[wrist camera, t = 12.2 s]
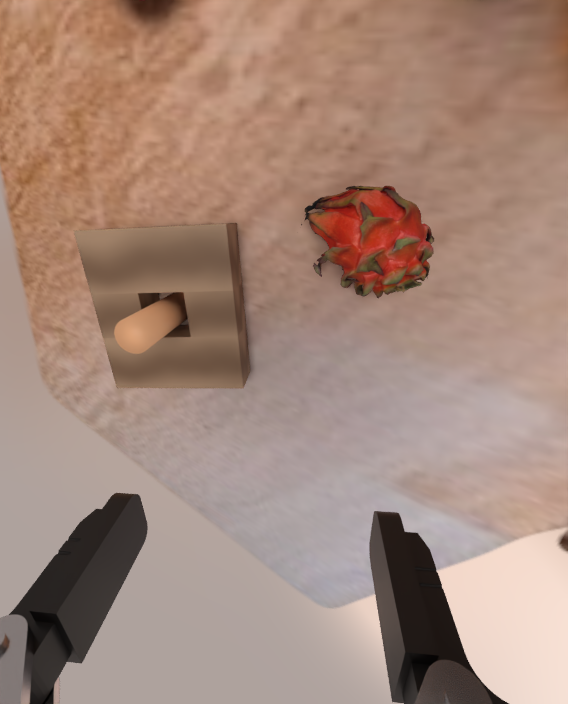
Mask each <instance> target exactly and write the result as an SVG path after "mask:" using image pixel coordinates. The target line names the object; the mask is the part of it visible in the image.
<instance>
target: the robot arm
mask: <svg viewBox="0 0 568 704" xmlns="http://www.w3.org/2000/svg"><path fill="white" fill-rule="evenodd" d="M146 535H147V521H146V517H145V513H144V510H143V506H142V502H141V498H140V496H139V495H138V494H125V493H124V494H123V493H115V494H114V495H112V496H111V498H110V499H109V500H108V502H107V503H106V505H105V506H104V507H103V509H96V510H94V511H93V512H92V513H91V514H90V515H88V516H87V517H86V518H85V519H83V521H81V522H80V523H79V525H78V526H77V527H76V529H75V530H74V531H73V533H72V534H71V535H70V536H69V539H68V541H66V542H65V543H64V544H63V546H62V547H61V548H60V550H59V553H58V554H57V555H55V556H54V558H53V559H52V560H51V562H50V563H49V564H48V566H47V567H46V568H45V569H44V571H43V572H42V573H41V575H40V576H39V577H38V579H37V580H36V581H35V583H34V584H33V585H32V587H31V588H30V589H29V591H28V592H27V593H26V595H25V596H24V597H23V599H22V600H21V601H20V603H19V604H18V605H17V606H16V608H15V609H14V610H13V611H12V612H11V613H10V614H9V615H8V616H5V617H2V618H0V704H59V702H60V679H59V675H60V673H61V671H62V670H63V668H64V666H65V664H66V662H75V663H82V662H83V660H84V658H85V656H86V654H87V652H88V650H89V648H90V646H91V645H92V643H93V641H94V639H95V637H96V635H97V633H98V631H99V629H100V627H101V625H102V623H103V621H104V619H105V618H106V615H107V614H108V612H109V610H110V608H111V606H112V604H113V602H114V600H115V598H116V596H117V594H118V592H119V590H120V589H121V587H122V585H123V583H124V581H125V579H126V577H127V575H128V573H129V571H130V569H131V567H132V565H133V563H134V561H135V560H136V558H137V556H138V554H139V552H140V550H141V548H142V546H143V544H144V542H145V539H146ZM370 563H371V569H372V576H373V582H374V588H375V595H376V601H377V607H378V614H379V620H380V627H381V633H382V639H383V646H384V651H385V658H386V665H387V671H388V677H389V684H390V690H391V697H392V702H398V703H404V704H508V703H507V702H505V701H503V700H501V699H500V698H499V697H497V696H496V695H495V694H494V693H493V692H491V691H490V690H489V689H488V688H487V687H486V686H485V685H484V684H483V683H482V682H481V680H480V679H479V678H478V677H477V675H476V674H475V672H474V671H473V669H472V667H471V666H470V664H469V662H468V660H467V658H466V655H465V653H464V649H463V646H462V644H461V641H460V638H459V635H458V632H457V629H456V626H455V623H454V620H453V617H452V614H451V611H450V608H449V605H448V602H447V599H446V596H445V593H444V590H443V589H442V584H441V581H440V578H439V576H438V573H437V572H436V567H435V564H434V561H433V558H432V555H431V552H430V549H429V548H428V547H427V545H426V544H425V543H424V541H423V540H422V539H421V537H420V536H419V534H418V533H411V532H405V531H404V528H403V524H402V521H401V517H400V515H399V513H395V512H380V511H375V512H374V515H373V522H372V529H371V537H370Z"/></svg>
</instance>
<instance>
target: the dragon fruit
mask: <svg viewBox="0 0 568 704" xmlns="http://www.w3.org/2000/svg"><path fill="white" fill-rule="evenodd" d="M346 189H349V190H348V191H346V192H343V193H341V194H338V195H334V196H326V197H322V198H320V199H318V200H317V201H315V202H314V203H313V205H312V206H308V207H306V208H305V212H306V214H305V215H306V218H305V220H306V219H308V220H309V223H310V226H311V228H312V230H313V231H314V232H315V233H316V234H318V235H320V236H321V237H322V238H323V239H324V240H325V241H326V242H327V244H328V246H329V250H328V251H326V252H325V253H324V254H322V255H321V256H322V257H321V258H319V259H318V260H317V261H318V262H319V264H318V265H316V264H315V263H314V265H313V266H314V269H315V271H316V272H317V273H318V274H319V275H320V276H321V277H322V275H321V264H322V263H324V262H326V261H327V260H329V261H330V262H332V263H334V264H338V265H341V266H342V270H344V275H343V276H342V278H341V286H342V287H344V288H348V287H349V286H350V285H351V284H352V283H353V282H355V284H354V287H355V291H356V294H357V295H361V296H366V295H367V294H369V293H370V292H371V291H372V289H373V292H374V293H375V294H376V296H377V298H379V297H381V296H382V294H383V292H384V293H385V294H387V295H388V294H389V293H393V292H395V291H397V292H398V291H403V292H404V291H406V290H408V289H409V288H413V287H416V286H421V285H422V283H421V282H417V281H416V280H422V281H424V280H425V278H426V276H428V273H429V269H430V265H429V263H428V262H427V261H426V260H427V259H428V258H430V257H431V256H432V254H433V247H432V246H431V244H432V243H433V242H434V238H433V236H432V234H431V229H430V227H429V226H427V225H426V224H422V223H421V213H420V210H419V209H418V207H417V205H416V204H414V203H412V202H410V201H407V200H405V199H403V198H402V197H400V196H399V195H398V193H396V191H395V189H394V187H392V186H384V187H383V188H380V187H363V186H352V187H347V188H346ZM357 189H359V190H357ZM314 208H315V209H322V210H325V211H324V212H322V213H319V212H316V213H312V214H310V213H308V211H310V210H312V209H314ZM301 225H302V224H301ZM300 228H301V227H300ZM297 233H298V232H297ZM426 236H427V238H426ZM425 240H426V241H425ZM347 278H355V279H356V280H351V279H347ZM362 285H364V286H363V287H362Z"/></svg>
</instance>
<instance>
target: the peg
mask: <svg viewBox="0 0 568 704" xmlns="http://www.w3.org/2000/svg"><path fill="white" fill-rule="evenodd" d="M187 318H188V317H187V310H186V304H185V298H184V293H183V292H175V293H173V294H171V295H169V296H167V297H165V298H163V299H161V300H159V301H157V302H155V303H153V304H151V305H149V306H148V307H146V308H144V309H142V310H140V311H138V312H136V313H134V314H132V315H130V316H128V317H126V318H125V319H123V320H121V321H119V322H118V323H117V325H116V326H115V330H114V335H115V339H116V341H117V343H118V344H119V346H120V347H121V348H123V349H124V350H125V351H127V352H129V353H133V354H140V353H143V352H145V351H146V350H148V349H149V348H150V347H151V346H153V345H154V344H155V343H156V342H158V341H159V340H160V339H162V338H163V337H164V336H165V335H167V334H168V333H169V332H171V331H172V330H173V329H174V328H176V327H177V326H178V325H180V324H181V323H182V322H183V321H185V320H186V319H187Z"/></svg>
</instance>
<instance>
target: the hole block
mask: <svg viewBox="0 0 568 704" xmlns="http://www.w3.org/2000/svg"><path fill="white" fill-rule="evenodd" d="M74 235H75V238H76V242H77V245H78V249H79V253H80V256H81V260H82V264H83V267H84V271H85V274H86V278H87V282H88V285H89V289H90V292H91V296H92V300H93V303H94V307H95V311H96V314H97V318H98V321H99V325H100V329H101V332H102V336H103V340H104V343H105V347H106V350H107V354H108V358H109V361H110V365H111V368H112V372H113V376H114V379H115V383H116V387H117V388H244V385H245V383H246V381H247V378H248V376H249V373H250V363H249V353H248V342H247V331H246V320H245V309H244V299H243V288H242V277H241V266H240V256H239V245H238V234H237V223H230V224H209V225H187V226H166V227H144V228H123V229H101V230H80V231H74ZM166 292H184V298H185V304H186V310H187V317H188V323H189V325H178V326H177V327H176V328H174V329H173V330H172V331H171V332H169V333H168V334H167V335H165V336H164V337H163V338H162V339H160V340H159V341H158V342H156V343H155V344H154V345H153V346H151V347H150V348H149V349H148V350H146V351H145V352H143V353H140V354H133V353H129V352H127V351H125V350H124V349H123V348H121V347H120V346H119V344H118V343H117V341H116V339H115V335H114V330H115V326H116V325H117V323H118V322H119V321H121V320H123V319H125V318H126V317H128V316H130V315H132V314H134V313H136V312H138V311H140V310H142V309H144V308H146V307H148V306H149V305H151V304H153V303H155V302H157V301H159V300H160V299H159V294H158V293H166Z"/></svg>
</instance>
